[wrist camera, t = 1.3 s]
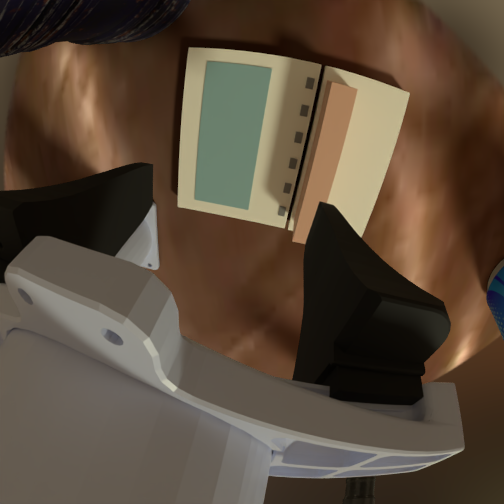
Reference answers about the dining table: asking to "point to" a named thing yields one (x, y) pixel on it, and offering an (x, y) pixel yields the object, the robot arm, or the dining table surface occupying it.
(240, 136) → the cream teal notepad
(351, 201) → the cream and brown block
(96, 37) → the storage jar
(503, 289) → the beer can
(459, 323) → the dining table surface
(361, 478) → the sauce bottle
